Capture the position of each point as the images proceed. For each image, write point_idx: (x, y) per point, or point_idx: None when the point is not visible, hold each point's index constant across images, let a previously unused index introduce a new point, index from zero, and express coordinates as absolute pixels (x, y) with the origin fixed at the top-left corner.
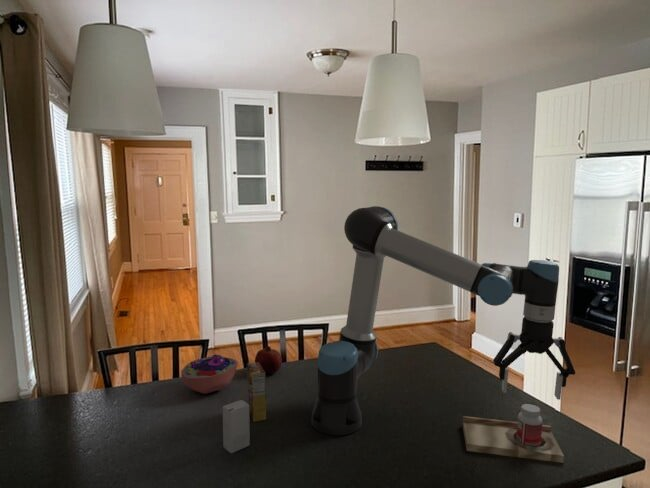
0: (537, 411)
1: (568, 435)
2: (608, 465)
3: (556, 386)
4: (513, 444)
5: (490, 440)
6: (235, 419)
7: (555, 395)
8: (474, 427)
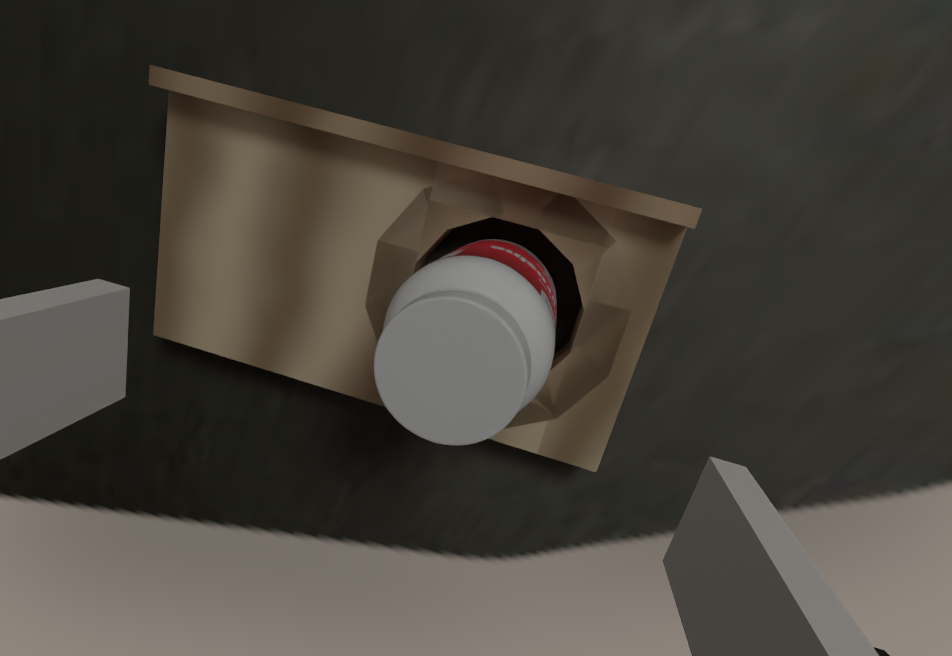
0: (474, 441)
1: (823, 198)
2: (820, 491)
3: (739, 605)
4: None
5: (272, 312)
6: None
7: (695, 503)
8: (220, 171)
